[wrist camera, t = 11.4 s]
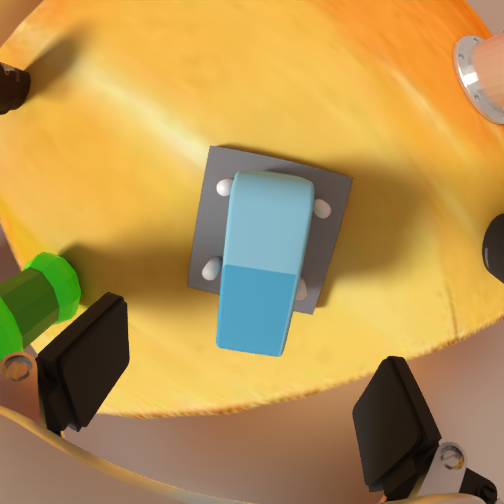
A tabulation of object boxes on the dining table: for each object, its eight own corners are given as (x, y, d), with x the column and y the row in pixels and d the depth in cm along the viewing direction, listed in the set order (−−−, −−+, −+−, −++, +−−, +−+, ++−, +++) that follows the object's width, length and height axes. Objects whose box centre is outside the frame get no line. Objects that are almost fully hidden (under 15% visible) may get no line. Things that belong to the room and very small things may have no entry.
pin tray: (348, 177, 26) (361, 179, 22) (311, 308, 31) (315, 329, 27) (213, 146, 27) (202, 143, 22) (190, 281, 31) (178, 298, 27)
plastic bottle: (100, 268, 32) (-47, 382, 8) (85, 323, 35) (-20, 432, 11) (50, 230, 31) (-93, 301, 7) (40, 286, 34) (-69, 367, 11)
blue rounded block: (252, 169, 26) (232, 170, 14) (299, 176, 25) (317, 183, 14) (237, 285, 29) (214, 356, 18) (280, 292, 29) (280, 367, 18)
